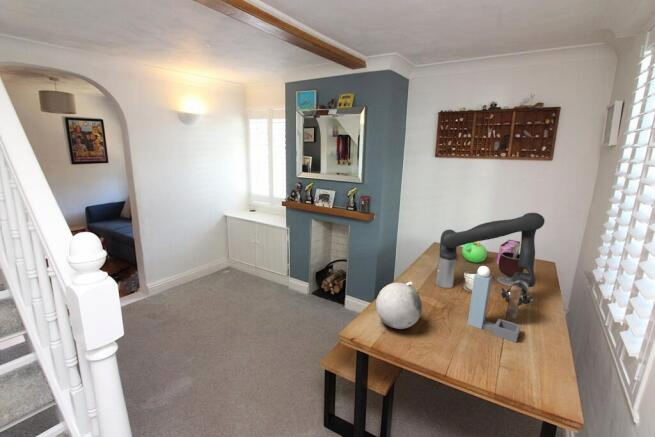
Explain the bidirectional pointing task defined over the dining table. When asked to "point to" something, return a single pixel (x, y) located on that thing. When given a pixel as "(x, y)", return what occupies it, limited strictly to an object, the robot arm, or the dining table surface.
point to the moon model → (398, 305)
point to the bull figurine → (410, 284)
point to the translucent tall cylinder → (513, 301)
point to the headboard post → (480, 308)
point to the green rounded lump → (474, 252)
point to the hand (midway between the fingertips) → (513, 302)
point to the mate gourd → (509, 266)
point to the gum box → (508, 247)
